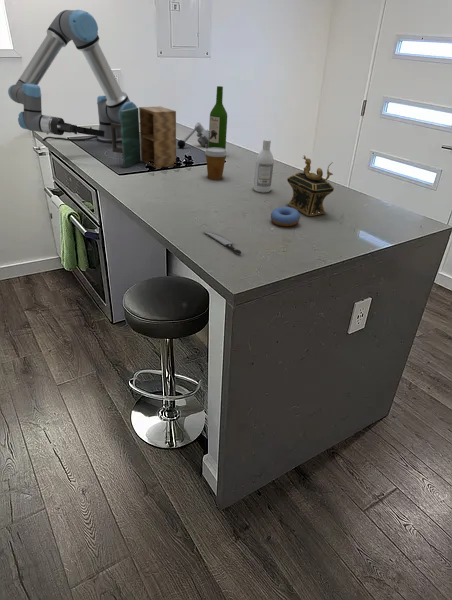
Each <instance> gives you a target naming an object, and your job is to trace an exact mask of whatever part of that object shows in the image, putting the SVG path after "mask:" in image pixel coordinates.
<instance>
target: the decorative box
mask: <svg viewBox="0 0 452 600" xmlns="http://www.w3.org/2000/svg"><path fill="white" fill-rule="evenodd" d="M302 159H303V160H305V161H304V164H305V167H304V168H303V171H301V172H297V173H295V174H293V175H291V176H288V177H287V180H286V181H287V183H288V184H289V185H290V187H291V189H292V197H291V198H290V200H289V202H288V203H287V205H288V207H291V208H294V209H296V210H297V211H298V212H299V213H300V214H303V215H306V216H307V217H313V216H320V215H324V214H326V213H325V212H326V211H325V208H324V200H325V199H326V197H327V196H329V195H330V194H332V193H333V192H334V189H335V187H334V186H333V185H332V184H331V183H330V182H329V181H327V180H329V179H330V176H333V175H334V173H333V172H330V170H329V168H330V166H331V165H332V164H333V163H334V162H333V161H331V162H330V163H329V164H328V166H327V170H326V175H327V176H326V178H323V175H324V172H323V169H322V168H321V167H318V168H316V173H314V172H310V171H311V167H312V166H311V164H312V160H311V158H308V157H306V155H303V157H302ZM318 212H320V213H318ZM312 213H313V214H312Z"/></svg>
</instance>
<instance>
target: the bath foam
mask: <svg viewBox="0 0 452 600" xmlns="http://www.w3.org/2000/svg"><path fill="white" fill-rule="evenodd" d="M271 141H272V140H271V139H266V138H264V139H263V140H262V149H261V150H260V152H259V153H258V155H257V157H256V161H255V172H254V179H253V182H254V183H253V190H254V191H255V192H257V193H263V194H265V193H270V191H271V189H272V180H273V170H274V156H273V153H272V151H271V144H272V143H271Z"/></svg>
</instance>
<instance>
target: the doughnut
mask: <svg viewBox="0 0 452 600" xmlns="http://www.w3.org/2000/svg"><path fill="white" fill-rule="evenodd" d="M300 214H301V213H300V211H298V210H296V209H294V208H292V207H290V206H279V207H276V208H274V209H273V210H272V212H271V213H270V220H271V222H272V223H273V224H274V225H277V226H280V227H292V226H295V225H296V224H298V223H299V221H300V220H301V215H300Z"/></svg>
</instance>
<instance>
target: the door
mask: <svg viewBox="0 0 452 600" xmlns="http://www.w3.org/2000/svg"><path fill="white" fill-rule="evenodd" d="M120 121H121V124H116V123H111V134H112V143H111V144H112V145H111V146H112V153H119V154H122V164H123V165H122V166H123V168H124V169H126V168H128V167H131V166H133V165H135V164H137V163H140V162H142V161H141V142H140V119H139V107H137V108H132V109H128V110H123V111H120ZM115 129H121V136H122V142H121V147H118V146H117V142H116V131H115Z"/></svg>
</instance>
